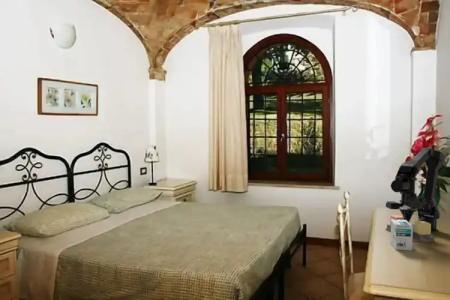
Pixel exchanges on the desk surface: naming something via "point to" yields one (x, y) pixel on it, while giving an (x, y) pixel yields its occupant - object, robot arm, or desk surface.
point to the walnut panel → (417, 236)
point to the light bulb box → (401, 234)
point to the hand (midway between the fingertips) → (407, 223)
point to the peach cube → (396, 217)
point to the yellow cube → (422, 228)
